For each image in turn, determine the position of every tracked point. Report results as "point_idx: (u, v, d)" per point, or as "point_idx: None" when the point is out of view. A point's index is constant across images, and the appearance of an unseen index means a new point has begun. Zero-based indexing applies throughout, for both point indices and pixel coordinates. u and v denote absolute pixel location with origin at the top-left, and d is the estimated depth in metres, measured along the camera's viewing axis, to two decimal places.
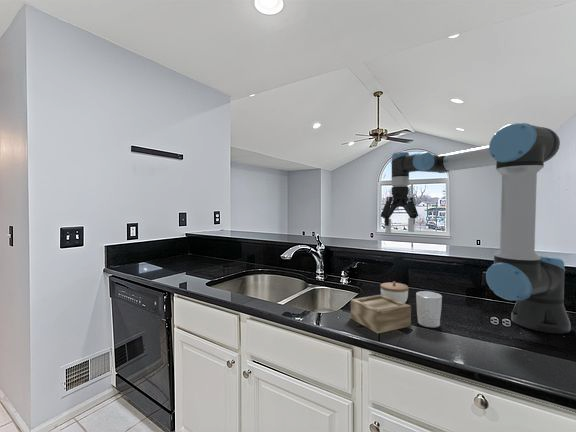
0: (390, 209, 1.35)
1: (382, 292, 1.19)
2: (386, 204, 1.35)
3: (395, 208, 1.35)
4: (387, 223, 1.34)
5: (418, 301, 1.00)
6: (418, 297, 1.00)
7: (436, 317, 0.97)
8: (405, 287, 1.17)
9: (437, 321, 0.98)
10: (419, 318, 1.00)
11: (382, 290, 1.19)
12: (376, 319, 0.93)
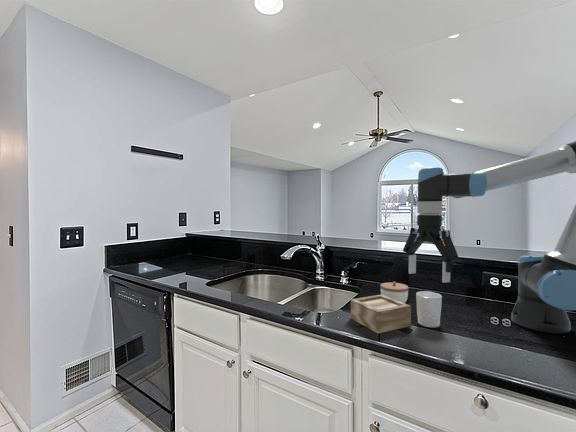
0: None
1: (382, 292, 1.19)
2: None
3: (417, 243, 1.03)
4: (408, 260, 1.07)
5: (418, 301, 1.00)
6: (418, 297, 1.00)
7: (436, 317, 0.97)
8: (405, 287, 1.17)
9: (437, 321, 0.98)
10: (419, 318, 1.00)
11: (382, 290, 1.19)
12: (376, 319, 0.93)
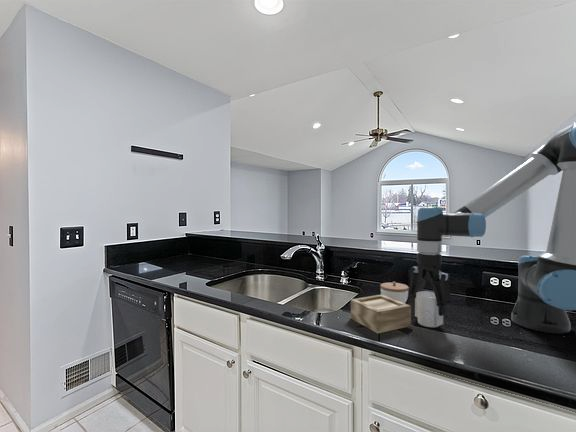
0: None
1: (382, 292, 1.19)
2: None
3: (420, 283, 1.02)
4: (414, 303, 1.05)
5: (418, 301, 1.00)
6: (418, 297, 1.00)
7: None
8: (405, 287, 1.17)
9: None
10: (419, 318, 1.00)
11: (382, 290, 1.19)
12: (376, 319, 0.93)
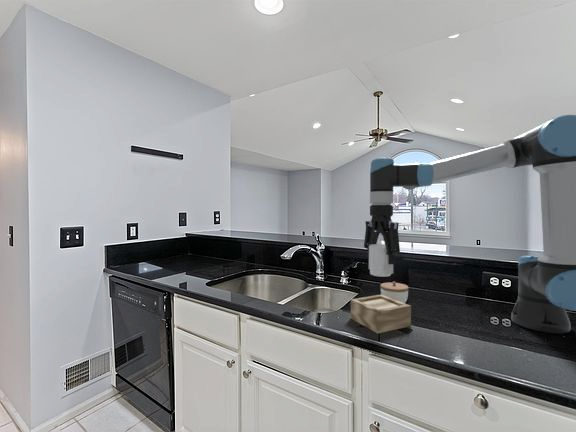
0: None
1: (382, 292, 1.19)
2: None
3: (373, 235, 1.03)
4: None
5: (370, 252, 1.01)
6: (370, 248, 1.01)
7: None
8: (405, 287, 1.17)
9: None
10: (371, 269, 1.01)
11: (382, 290, 1.19)
12: (376, 319, 0.93)
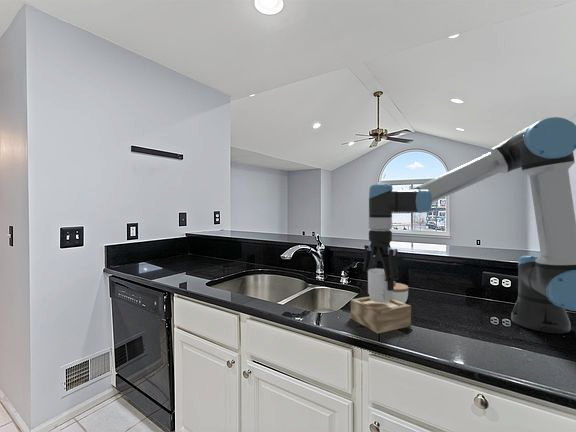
0: None
1: None
2: None
3: (372, 260, 1.03)
4: None
5: (369, 277, 1.01)
6: (369, 273, 1.01)
7: None
8: (405, 287, 1.17)
9: None
10: (370, 294, 1.01)
11: None
12: (376, 319, 0.93)
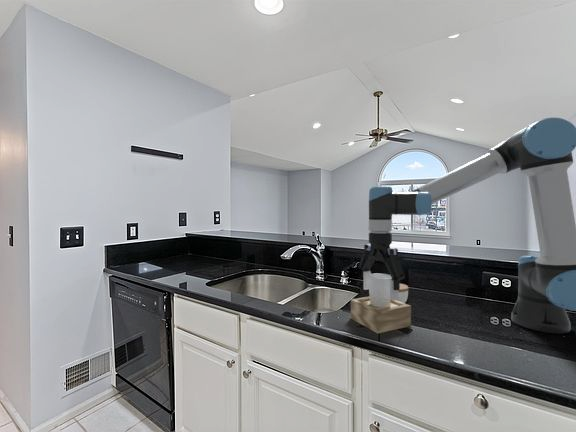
0: None
1: None
2: None
3: (370, 260, 1.05)
4: None
5: (369, 282, 1.01)
6: (369, 278, 1.01)
7: (386, 297, 0.98)
8: (405, 287, 1.17)
9: (387, 302, 0.99)
10: (371, 299, 1.01)
11: None
12: (376, 319, 0.93)
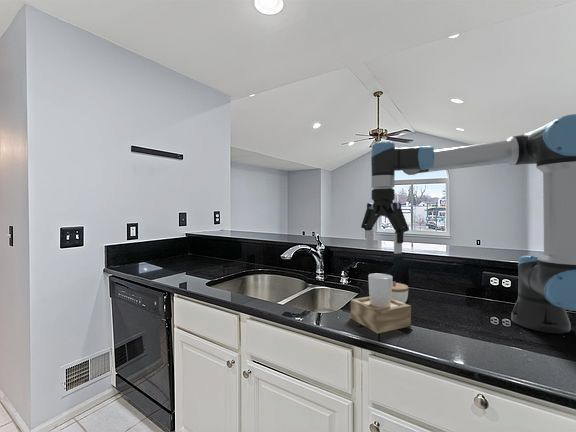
0: None
1: None
2: None
3: (372, 218, 1.05)
4: None
5: (369, 282, 1.01)
6: (369, 278, 1.01)
7: (386, 297, 0.98)
8: (405, 287, 1.17)
9: (387, 302, 0.99)
10: (371, 299, 1.01)
11: None
12: (376, 319, 0.93)
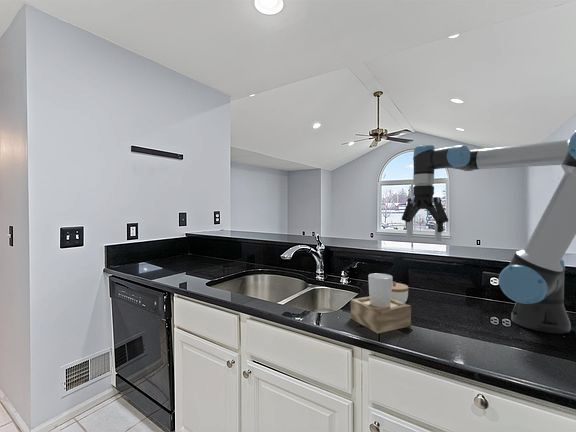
0: None
1: None
2: None
3: (413, 211, 1.21)
4: (406, 227, 1.25)
5: (369, 282, 1.01)
6: (369, 278, 1.01)
7: (386, 297, 0.98)
8: (405, 287, 1.17)
9: (387, 302, 0.99)
10: (371, 299, 1.01)
11: None
12: (376, 319, 0.93)
